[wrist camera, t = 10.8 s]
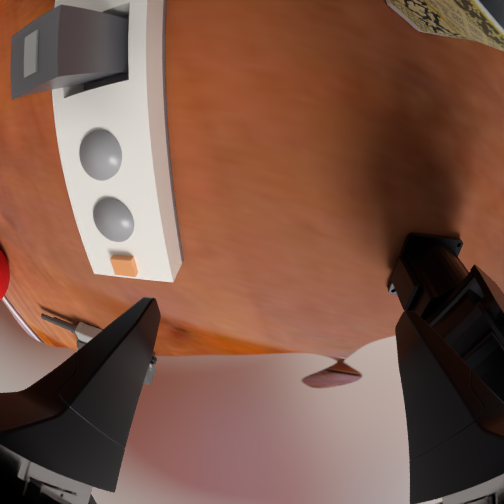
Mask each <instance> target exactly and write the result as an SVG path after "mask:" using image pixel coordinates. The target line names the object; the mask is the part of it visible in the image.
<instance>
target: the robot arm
mask: <svg viewBox="0 0 504 504" xmlns="http://www.w3.org/2000/svg"><path fill="white" fill-rule="evenodd" d="M412 238H413V240H411V239H412ZM410 240H411V241H410ZM462 245H463V242H462V240H461V239H460V238H454V237H446V236H437V235H428V234H419V233H410V234H408V235H407V237H406V240H405V243H404V246H403V249H402V252H401V255H400V256H399V258H398V260H397V263H396V266H395V269H394V271H393V274H392V277H391V281H390V284H389V286H388V291H389V293H390V294H393V295H398V297H399V300H400V302H401V305H402V307H403V309H404V312H403V313H402V315H401V317H400V319H399V321H398V323H397V325H396V329H395V332H396V341H397V351H398V363H399V371H400V376H401V383H402V389H403V395H404V403H405V410H406V418H407V429H408V441H409V457H410V504H417V503H421V502H426V501H430V500H434V499H438V498H441V497H442V499H443V501H442V502H439V503H437V504H504V294H503V292H502V291H501V290H500V288H499V287H498V285H497V284H496V283H495V282H494V281H493V280H492V279H491V278H490V277H489V276H487V275H486V274H485V273H484V272H483V271H482V270H481V269H480V268H479V267H477V266H476V265H474V266H473V267H472V268H471V269H470V270H471V271H470V272H468V270H467V269H466V268H465V266H464V265H463V263H462V262H461V261H460V259H459V258H458V255H459V252H460V250H461V248H462ZM392 289H393V290H392ZM160 317H161V315H160V311H159V308H158V304H157V301H156V299H155V298H152V297H143V298H142V299H141V300H139V301H138V302H137V303H136V304H134V305H133V306H132V307H131V308H129V309H128V310H127V311H126V312H124V313H123V314H122V315H121V316H119V317H118V318H117V319H116V320H114V321H113V322H112V323H111V324H109V325H108V326H107V327H106V328H105V329H103V330H102V331H101V332H100V333H98V334H97V335H96V336H95V337H94V338H92V339H91V340H90V341H89V342H88V343H86V344H85V345H84V346H83V347H81V348H80V349H79V350H78V351H77V352H76V353H74V354H73V355H72V356H71V357H70V358H68V359H67V360H66V361H65V362H63V363H62V364H61V365H60V366H58V367H57V368H55V369H54V370H53V371H52V372H50V373H49V374H47V375H46V376H44V377H43V378H41V379H40V380H39V381H37V382H36V383H34V384H33V385H31V386H30V387H28V388H27V389H25V390H22V391H19V392H12V393H11V392H10V393H0V504H96V502H95V500H94V498H93V497H92V495H91V491H92V487H96V488H99V489H103V490H106V491H110V492H115V489H116V485H117V480H118V476H119V471H120V467H121V462H122V458H123V455H124V451H125V449H124V448H125V446H126V442H127V439H128V435H129V431H130V427H131V424H132V420H133V417H134V413H135V410H136V406H137V403H138V399H139V396H140V393H141V389H142V386H143V383H144V380H145V377H146V374H147V370H148V367H149V364H150V361H151V358H152V355H153V350H154V346H155V341H156V336H157V332H158V327H159V323H160Z"/></svg>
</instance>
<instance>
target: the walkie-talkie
mask: <svg viewBox="0 0 504 504" xmlns="http://www.w3.org/2000/svg"><path fill="white" fill-rule="evenodd" d="M41 317H42V319H44V320H47V321H49V322H51V323H53V324H56V325H58V326H60V327H63V328H65V329H68V330H70V331H71V332H73V333H75V334H76V335H77V337H78V341H77V347H78V349H80V348H81V347H83V346H84V345H85V344H86V343H88V342H89V341H90V340H91V339H92V338H94V337H95V336H96V335H97V334H98V333H100V332H101V331H102V329H99V328H96V327H93V326H90V325H87V324H85V323H83V322H79V324H78V325H76V324H71V323H68V322H66V321H63V320H61V319H58V318H56V317H54V318H52V317H50V316H47V315H45V314H43V313H42V314H41ZM156 361H157V358H156V357H155V356H153V355H152V358H151V361H150V364H149V367H148V370H147V374H146V377H145V380H144V383H145V384H150V385H151V382H152V379H153V376H154V373H155V367H154V364H156Z"/></svg>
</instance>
